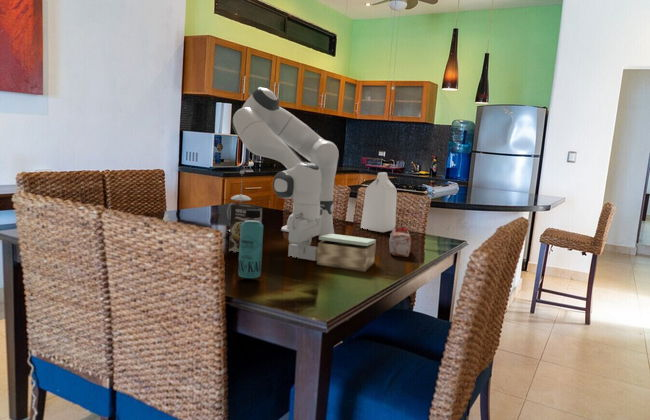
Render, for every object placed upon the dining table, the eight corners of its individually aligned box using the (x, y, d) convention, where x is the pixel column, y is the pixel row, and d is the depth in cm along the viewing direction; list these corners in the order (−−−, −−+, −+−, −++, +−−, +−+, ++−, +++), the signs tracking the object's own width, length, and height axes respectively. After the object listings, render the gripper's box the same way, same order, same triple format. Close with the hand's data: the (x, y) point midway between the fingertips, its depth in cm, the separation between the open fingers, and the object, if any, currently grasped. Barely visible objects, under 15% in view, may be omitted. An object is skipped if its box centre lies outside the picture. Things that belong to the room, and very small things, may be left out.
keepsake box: (316, 264, 162) (318, 242, 161) (328, 256, 173) (330, 236, 172) (364, 271, 157) (366, 249, 156) (374, 263, 168) (375, 242, 167)
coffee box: (228, 251, 171) (229, 204, 169) (237, 248, 177) (239, 202, 175) (252, 255, 168) (254, 207, 166) (260, 251, 174) (263, 205, 172)
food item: (411, 258, 179) (413, 231, 178) (388, 256, 180) (391, 229, 178) (407, 250, 193) (410, 224, 191) (386, 248, 193) (388, 223, 192)
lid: (318, 239, 161) (318, 236, 161) (331, 236, 173) (331, 233, 173) (366, 246, 156) (367, 242, 156) (376, 242, 168) (376, 239, 168)
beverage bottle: (238, 276, 143) (241, 206, 140) (261, 277, 143) (265, 207, 141) (236, 283, 136) (239, 210, 134) (260, 284, 137) (264, 211, 134)
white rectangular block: (288, 256, 170) (288, 244, 170) (292, 254, 173) (292, 243, 173) (315, 260, 167) (315, 248, 166) (318, 258, 169) (319, 247, 169)
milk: (373, 225, 242) (378, 171, 238) (395, 229, 235) (400, 173, 231) (360, 228, 232) (364, 171, 228) (382, 232, 226) (387, 174, 222)
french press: (256, 232, 207) (259, 171, 203) (237, 236, 197) (239, 172, 193) (238, 228, 212) (241, 169, 208) (218, 232, 202) (221, 169, 199)
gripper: (303, 216, 157) (300, 260, 159) (325, 209, 176) (322, 248, 178) (284, 214, 159) (282, 257, 161) (308, 207, 178) (305, 245, 180)
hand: (303, 252), depth 170 cm, fingers closed on white rectangular block, 3 cm apart
